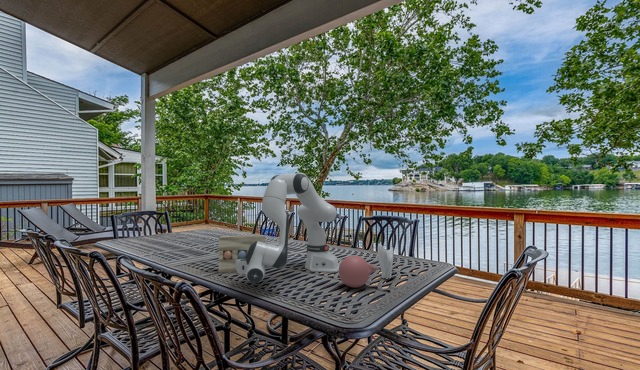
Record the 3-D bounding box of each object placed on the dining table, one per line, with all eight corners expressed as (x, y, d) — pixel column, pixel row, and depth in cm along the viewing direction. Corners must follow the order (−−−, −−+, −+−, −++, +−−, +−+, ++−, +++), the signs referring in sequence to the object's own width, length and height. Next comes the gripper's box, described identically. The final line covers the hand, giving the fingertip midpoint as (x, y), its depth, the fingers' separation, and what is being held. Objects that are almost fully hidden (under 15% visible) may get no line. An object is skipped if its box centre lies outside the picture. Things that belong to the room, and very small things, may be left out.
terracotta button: (224, 257, 176) (224, 250, 176) (232, 257, 177) (232, 249, 177) (223, 259, 172) (223, 251, 172) (231, 259, 173) (231, 251, 173)
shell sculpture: (395, 276, 167) (395, 244, 167) (392, 281, 159) (392, 246, 159) (380, 274, 170) (380, 242, 170) (376, 279, 163) (376, 245, 163)
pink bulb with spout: (380, 293, 141) (380, 260, 141) (337, 291, 144) (337, 258, 144) (378, 283, 156) (379, 253, 156) (339, 281, 159) (340, 251, 159)
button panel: (221, 266, 185) (221, 234, 185) (264, 264, 190) (264, 232, 190) (218, 272, 172) (218, 237, 172) (265, 270, 177) (265, 236, 177)
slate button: (238, 257, 176) (238, 250, 176) (246, 257, 177) (246, 249, 177) (237, 259, 172) (238, 251, 172) (245, 259, 173) (246, 251, 173)
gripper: (277, 259, 150) (275, 253, 164) (234, 260, 146) (236, 254, 160) (277, 272, 150) (275, 264, 164) (234, 274, 146) (236, 266, 160)
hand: (255, 259), depth 162 cm, fingers closed
